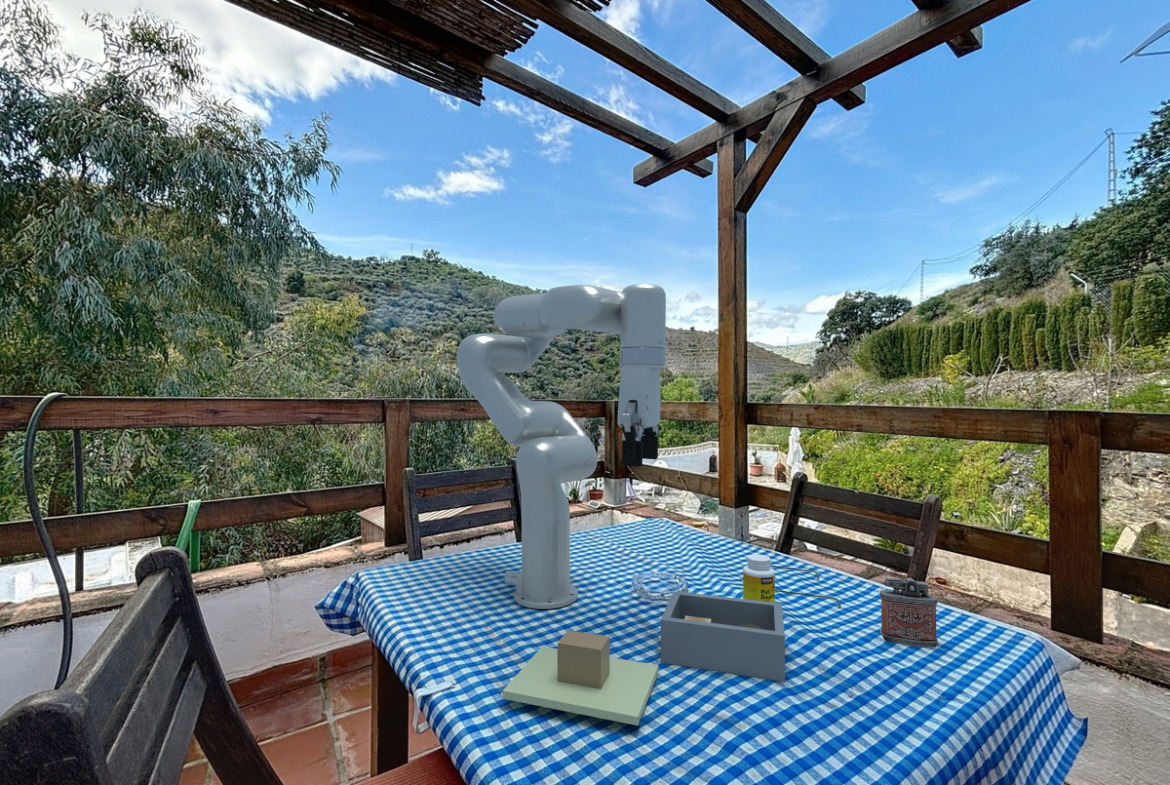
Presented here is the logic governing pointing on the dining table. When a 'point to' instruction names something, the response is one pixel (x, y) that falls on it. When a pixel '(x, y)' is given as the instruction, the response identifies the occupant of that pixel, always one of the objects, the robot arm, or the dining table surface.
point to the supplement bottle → (759, 579)
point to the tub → (724, 635)
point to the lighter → (908, 613)
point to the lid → (584, 680)
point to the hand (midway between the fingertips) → (640, 462)
